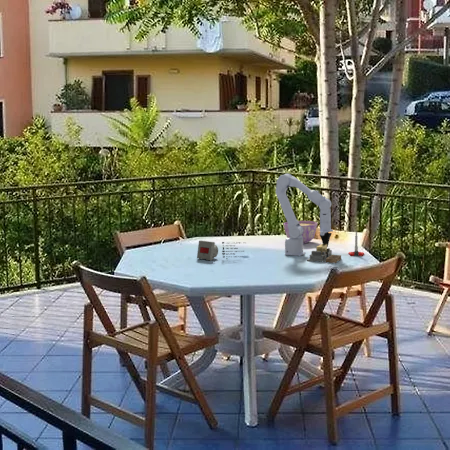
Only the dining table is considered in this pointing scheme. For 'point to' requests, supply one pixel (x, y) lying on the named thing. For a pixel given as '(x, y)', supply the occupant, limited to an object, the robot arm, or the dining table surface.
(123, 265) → the dining table surface
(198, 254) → the voltmeter
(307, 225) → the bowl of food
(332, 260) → the block
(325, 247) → the link bar
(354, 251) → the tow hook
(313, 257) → the grey stepped metal block
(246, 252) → the dining table surface
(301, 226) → the robot arm
